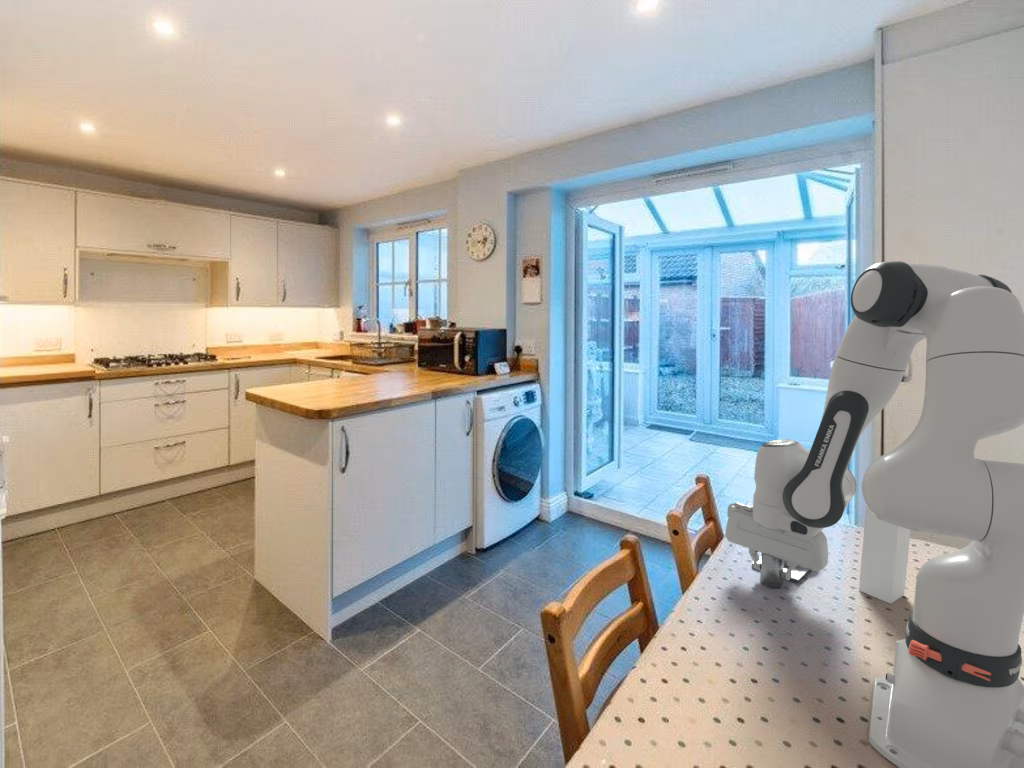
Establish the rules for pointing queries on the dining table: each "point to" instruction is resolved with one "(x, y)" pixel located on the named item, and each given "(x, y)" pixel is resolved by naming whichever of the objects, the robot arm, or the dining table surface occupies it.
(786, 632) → the dining table surface
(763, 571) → the grey cylindrical peg
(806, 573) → the flange
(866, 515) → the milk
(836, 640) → the dining table surface
